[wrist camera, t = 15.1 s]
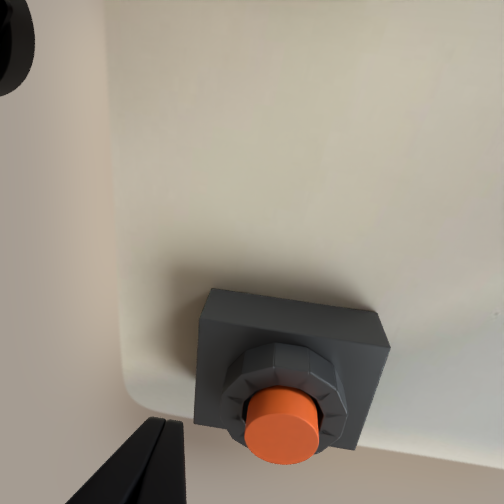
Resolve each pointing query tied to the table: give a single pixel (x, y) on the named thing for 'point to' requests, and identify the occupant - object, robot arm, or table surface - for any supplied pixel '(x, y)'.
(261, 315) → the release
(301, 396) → the release button
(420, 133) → the table surface
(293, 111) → the table surface
